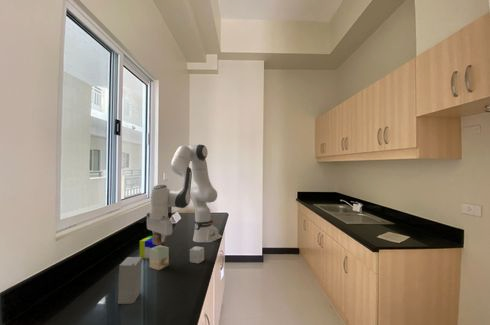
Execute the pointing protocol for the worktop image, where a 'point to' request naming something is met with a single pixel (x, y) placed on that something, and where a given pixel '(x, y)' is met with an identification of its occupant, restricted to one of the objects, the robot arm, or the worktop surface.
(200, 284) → the worktop surface
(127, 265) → the skincare box
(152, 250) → the block
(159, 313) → the worktop surface
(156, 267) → the tower base
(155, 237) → the walnut block
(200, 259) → the skincare box
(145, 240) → the puzzle toy
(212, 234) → the robot arm
